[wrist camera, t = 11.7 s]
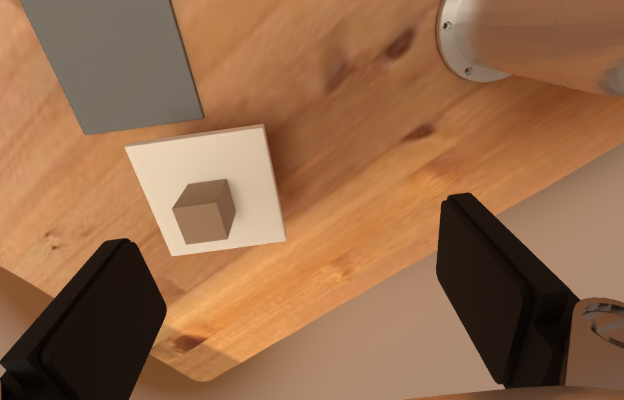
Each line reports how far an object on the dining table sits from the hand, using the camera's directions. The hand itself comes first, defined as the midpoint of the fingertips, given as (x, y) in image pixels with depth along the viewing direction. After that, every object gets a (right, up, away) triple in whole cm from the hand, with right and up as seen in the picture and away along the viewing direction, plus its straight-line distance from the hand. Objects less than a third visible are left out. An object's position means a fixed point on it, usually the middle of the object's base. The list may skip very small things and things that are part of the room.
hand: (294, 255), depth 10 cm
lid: (-9, +2, +21) cm, 23 cm away
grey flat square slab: (-20, +17, +25) cm, 36 cm away
